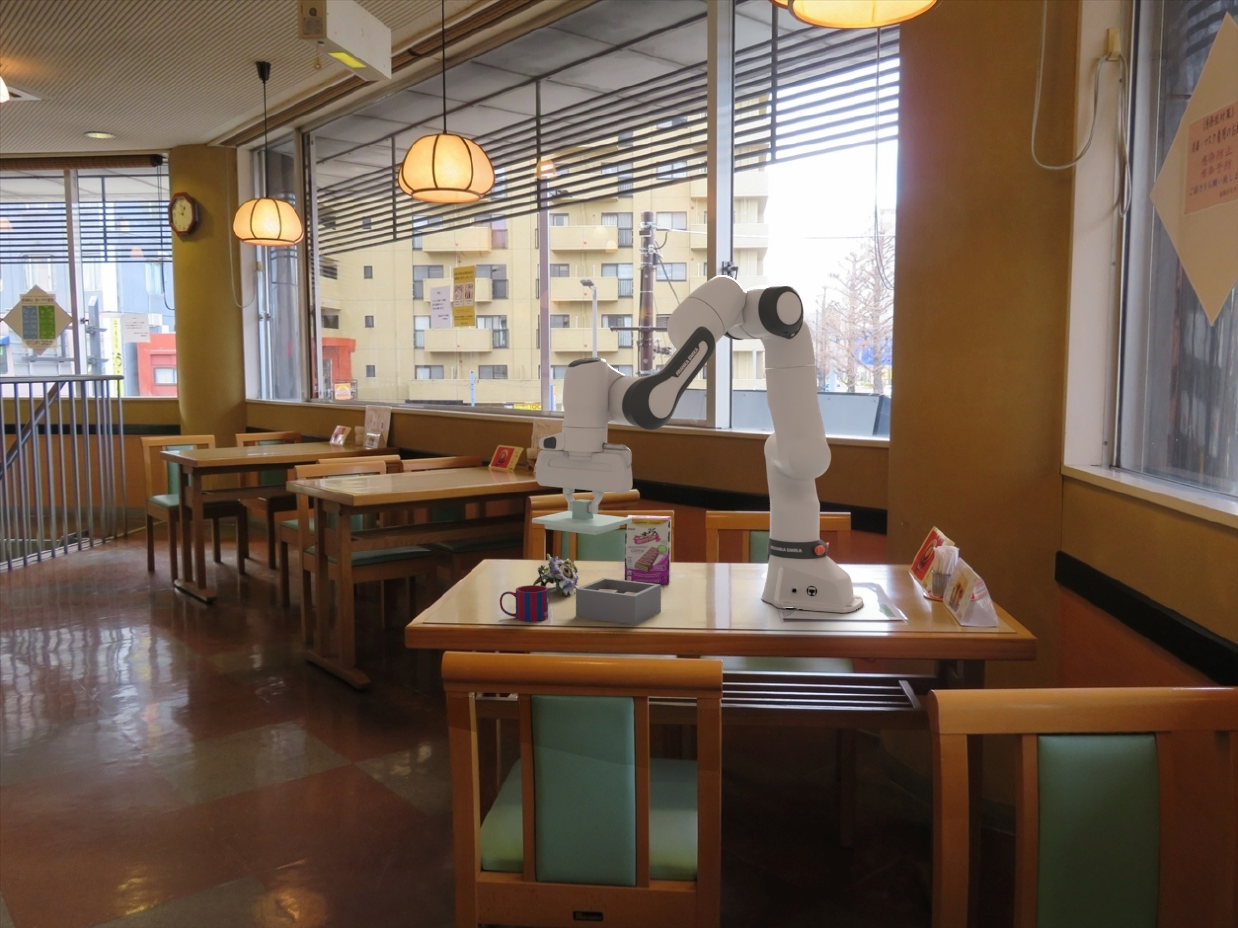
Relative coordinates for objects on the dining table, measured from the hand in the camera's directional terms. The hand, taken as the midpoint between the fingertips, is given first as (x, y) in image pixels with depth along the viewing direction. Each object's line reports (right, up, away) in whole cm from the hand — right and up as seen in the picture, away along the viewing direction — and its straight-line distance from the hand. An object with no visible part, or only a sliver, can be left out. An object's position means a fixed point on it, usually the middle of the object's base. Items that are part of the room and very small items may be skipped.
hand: (582, 512), depth 185 cm
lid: (0, -3, 0) cm, 3 cm away
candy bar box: (+14, -20, +48) cm, 54 cm away
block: (+4, -22, +17) cm, 29 cm away
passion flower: (-8, -21, +35) cm, 42 cm away
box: (+7, -23, +16) cm, 29 cm away
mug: (-13, -24, +13) cm, 30 cm away
